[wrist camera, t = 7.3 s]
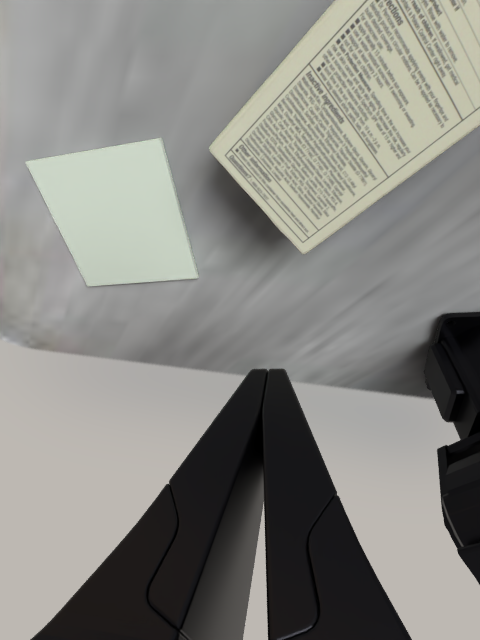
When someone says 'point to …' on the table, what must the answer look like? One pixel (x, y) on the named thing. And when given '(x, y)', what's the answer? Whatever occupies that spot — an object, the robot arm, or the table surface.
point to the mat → (118, 213)
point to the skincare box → (355, 111)
